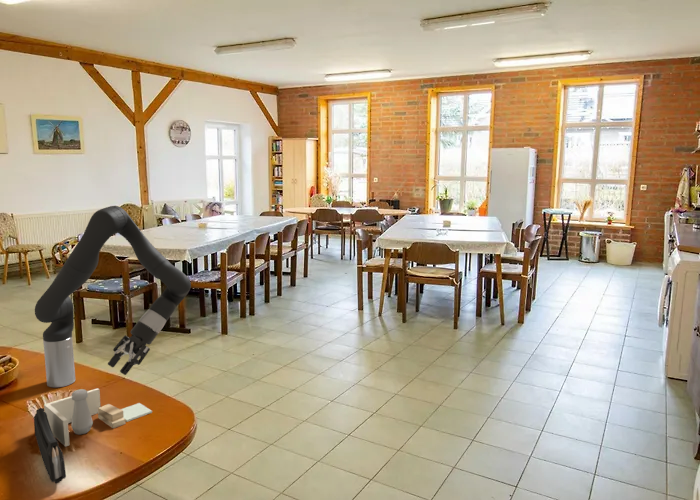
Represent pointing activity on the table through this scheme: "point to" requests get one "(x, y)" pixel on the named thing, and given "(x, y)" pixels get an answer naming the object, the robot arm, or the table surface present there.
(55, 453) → the magazine
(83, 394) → the salt shaker
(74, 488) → the table surface
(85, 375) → the table surface
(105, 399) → the table surface
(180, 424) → the table surface
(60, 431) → the bracket
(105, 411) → the offcut short
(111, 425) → the block
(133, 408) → the tile
